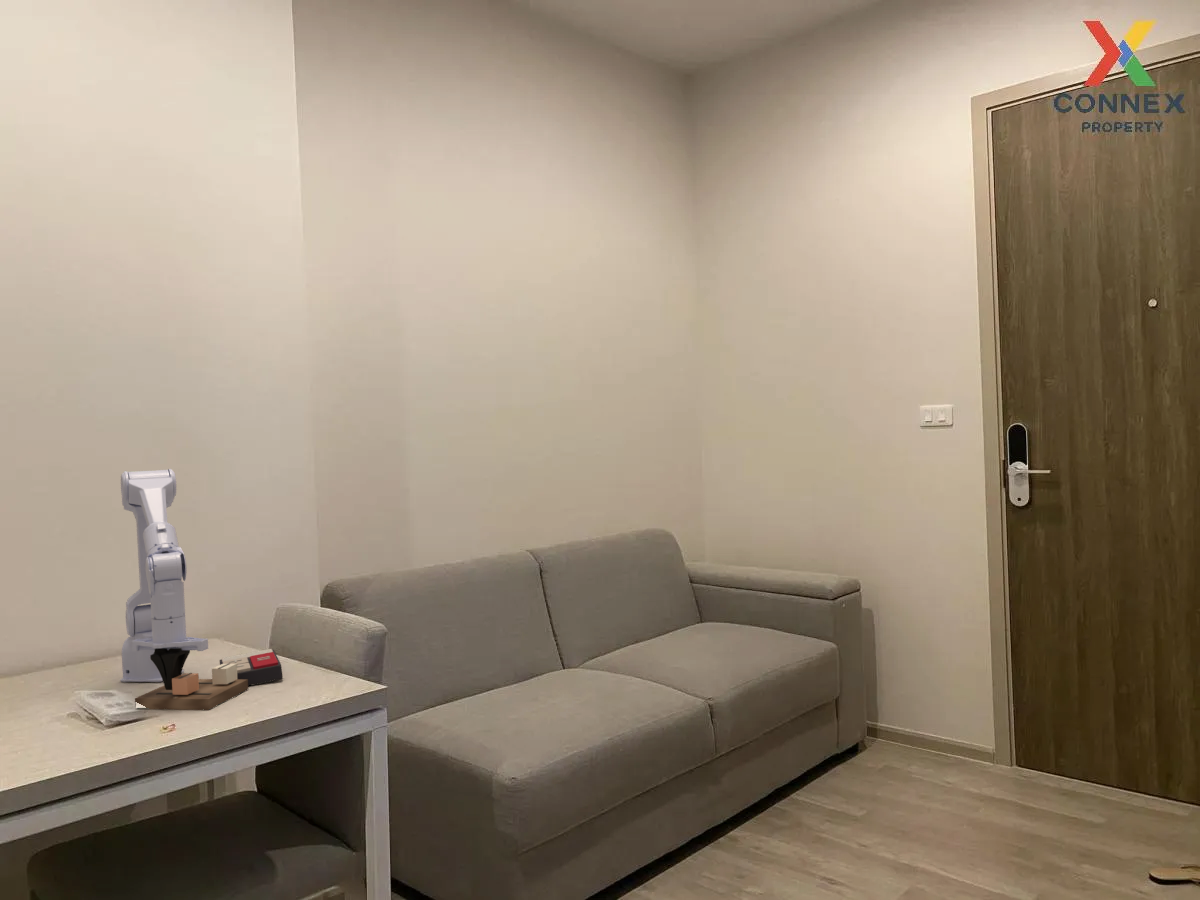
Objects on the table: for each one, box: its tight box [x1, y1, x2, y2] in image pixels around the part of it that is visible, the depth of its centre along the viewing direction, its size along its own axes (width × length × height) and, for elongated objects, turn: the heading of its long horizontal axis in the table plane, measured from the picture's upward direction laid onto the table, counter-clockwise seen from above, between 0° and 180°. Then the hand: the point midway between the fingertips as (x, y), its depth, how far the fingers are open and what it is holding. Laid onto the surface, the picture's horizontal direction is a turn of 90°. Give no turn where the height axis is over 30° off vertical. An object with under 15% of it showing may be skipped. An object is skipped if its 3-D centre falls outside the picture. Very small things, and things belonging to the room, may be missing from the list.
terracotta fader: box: [172, 672, 200, 695], centre depth 169 cm, size 3×4×3 cm
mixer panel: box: [134, 678, 249, 711], centre depth 172 cm, size 15×13×2 cm
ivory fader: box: [211, 663, 237, 684], centre depth 175 cm, size 3×4×3 cm
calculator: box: [219, 648, 283, 687], centre depth 187 cm, size 11×4×15 cm
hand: (172, 688), depth 169 cm, fingers closed
